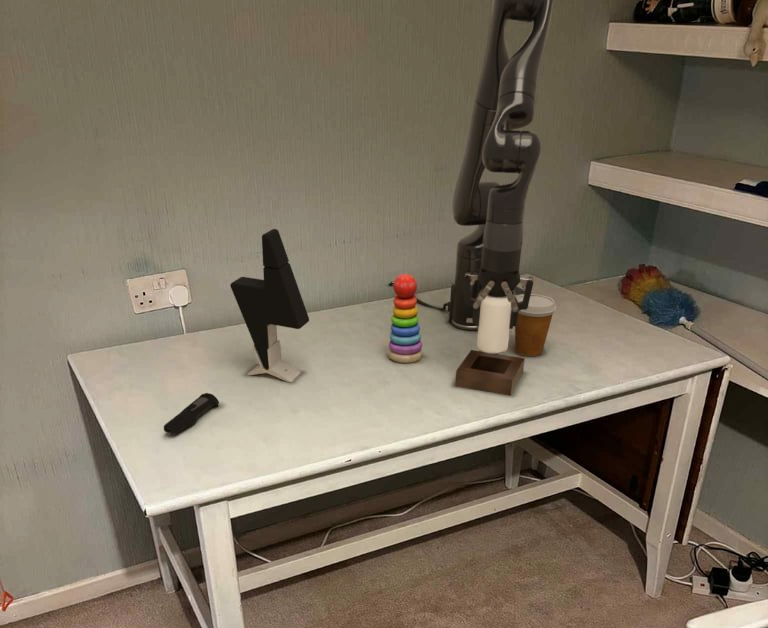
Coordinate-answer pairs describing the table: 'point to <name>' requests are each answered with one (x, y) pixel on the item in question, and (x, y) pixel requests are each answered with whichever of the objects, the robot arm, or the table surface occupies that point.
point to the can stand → (490, 372)
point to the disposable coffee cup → (533, 325)
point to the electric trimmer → (191, 413)
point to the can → (494, 324)
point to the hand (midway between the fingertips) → (493, 326)
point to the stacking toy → (405, 322)
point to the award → (271, 307)
